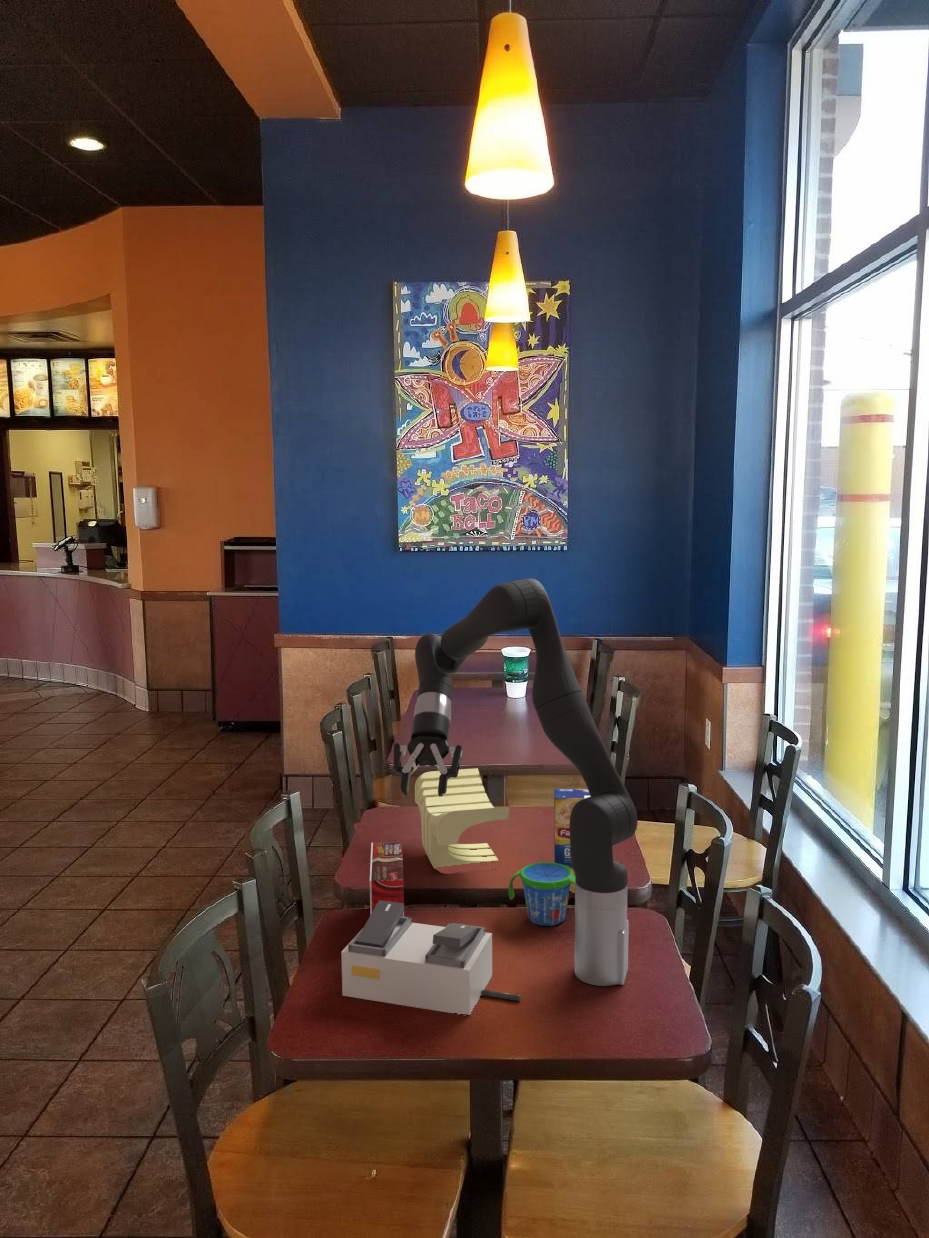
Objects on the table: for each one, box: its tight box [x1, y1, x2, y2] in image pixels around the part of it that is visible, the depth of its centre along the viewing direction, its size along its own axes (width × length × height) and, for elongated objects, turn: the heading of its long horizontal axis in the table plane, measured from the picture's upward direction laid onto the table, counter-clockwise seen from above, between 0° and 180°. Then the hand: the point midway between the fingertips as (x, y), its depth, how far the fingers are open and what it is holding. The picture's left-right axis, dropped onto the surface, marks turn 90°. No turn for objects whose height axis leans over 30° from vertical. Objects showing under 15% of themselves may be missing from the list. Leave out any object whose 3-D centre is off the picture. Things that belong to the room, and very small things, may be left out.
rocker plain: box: [433, 923, 478, 947], centre depth 166 cm, size 5×11×2 cm, turn 163°
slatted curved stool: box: [414, 767, 510, 869], centre depth 224 cm, size 30×16×18 cm, turn 12°
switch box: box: [340, 916, 522, 1016], centre depth 167 cm, size 30×14×9 cm, turn 73°
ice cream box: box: [369, 841, 405, 917], centre depth 193 cm, size 20×6×13 cm, turn 5°
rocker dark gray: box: [356, 900, 405, 948], centre depth 170 cm, size 5×11×2 cm, turn 163°
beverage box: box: [553, 788, 590, 893], centre depth 206 cm, size 7×11×22 cm, turn 86°
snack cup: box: [508, 861, 575, 927], centre depth 194 cm, size 16×10×10 cm
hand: (422, 793), depth 185 cm, fingers open, 6 cm apart
